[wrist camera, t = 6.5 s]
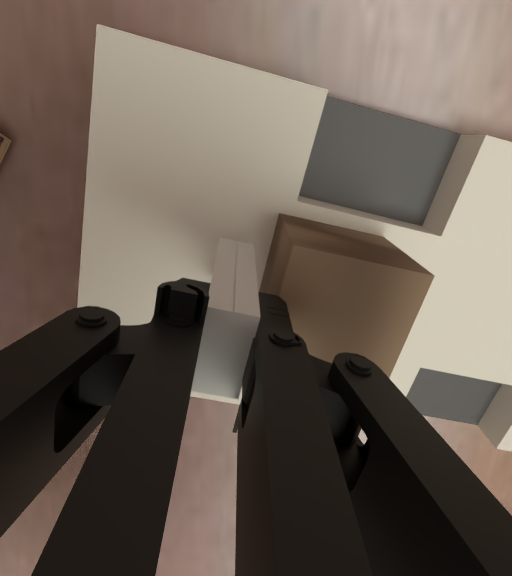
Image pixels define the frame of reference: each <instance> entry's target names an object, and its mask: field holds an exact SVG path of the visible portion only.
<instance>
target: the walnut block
mask: <svg viewBox="0 0 512 576" xmlns="http://www.w3.org/2000/svg"><path fill="white" fill-rule="evenodd" d="M433 279H434V275H433V274H432V273H430V272H429V271H428V270H427V269H425V268H424V267H423V266H421V265H420V264H419V263H417V262H416V261H415V260H413V259H412V258H411V257H410V256H408V255H407V254H406V253H404V252H403V251H402V250H400V249H399V248H398V247H396V246H395V245H394V244H393V243H391V242H390V241H389V240H387V239H386V238H385V237H383V236H379V235H374V234H370V233H365V232H361V231H357V230H352V229H348V228H343V227H339V226H334V225H330V224H326V223H321V222H317V221H312V220H308V219H304V218H299V217H295V216H290V215H286V214H281V213H279V215H278V219H277V223H276V227H275V231H274V235H273V239H272V242H271V246H270V250H269V254H268V258H267V262H266V266H265V270H264V274H263V278H262V282H261V285H260V289H259V292H262V293H267V294H272V295H277V296H279V297H281V298H282V299H283V300H284V301H285V302H286V304H287V308H288V312H289V316H290V317H289V318H290V320H291V324H292V328H293V332H294V333H296V334H298V335H299V336H300V337H301V338H303V340H304V341H305V343H306V346H307V349H308V353H309V354H310V355H312V356H314V357H316V358H319V359H321V360H324V361H327V362H329V363H332V362H333V360H334V357H335V355H337V354H339V353H344V352H348V353H356V354H359V355H362V356H365V357H366V358H367V359H369V360H371V361H372V362H374V363H375V364H376V365H377V366H378V367H379V368H380V369H381V370H382V371H383V372H384V373H385V374H386V375H387V376H388V378H390V376H391V373H392V371H393V369H394V367H395V364H396V362H397V360H398V358H399V355H400V353H401V351H402V349H403V346H404V344H405V342H406V340H407V337H408V335H409V333H410V330H411V328H412V326H413V324H414V321H415V319H416V317H417V315H418V312H419V310H420V308H421V306H422V303H423V301H424V299H425V297H426V294H427V292H428V290H429V288H430V285H431V283H432V281H433Z"/></svg>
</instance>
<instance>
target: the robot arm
mask: <svg viewBox="0 0 512 576" xmlns="http://www.w3.org/2000/svg"><path fill="white" fill-rule="evenodd" d="M289 317H290V316H289V312H288V308H287V304H286V302H285V301H284V300H283V299H282V298H281V297H279V296H277V295H272V294H267V293H262V292H258V285H257V275H256V264H255V253H254V245H253V244H249V243H244V242H239V241H235V240H230V239H226V238H221V237H220V240H219V245H218V250H217V255H216V259H215V264H214V269H213V274H212V279H211V283H207V282H202V281H197V280H192V279H187V278H181V279H179V280H177V281H168V282H165V283H162V284H160V285H159V286H158V288H157V295H156V302H155V309H154V316H153V318H152V320H151V322H149V323H147V324H142V325H121V321H120V317H119V316H118V315H117V314H116V313H115V312H113V311H111V310H109V309H106V308H101V307H98V306H93V307H92V306H85V307H78V308H74V309H71V310H69V311H66V312H65V313H63V314H61V315H60V316H58V317H56V318H55V319H53V320H51V321H50V322H48V323H46V324H45V325H43V326H41V327H40V328H38V329H36V330H35V331H33V332H31V333H29V334H28V335H26V336H24V337H23V338H21V339H19V340H18V341H16V342H14V343H13V344H11V345H9V346H8V347H6V348H4V349H3V350H1V351H0V537H1V536H2V535H3V534H4V533H5V532H6V531H7V529H8V528H9V527H10V526H11V525H12V524H13V522H14V521H15V520H16V519H17V518H18V517H19V516H20V514H21V513H22V512H23V511H24V510H25V509H26V508H27V506H28V505H29V504H30V503H31V502H32V501H33V500H34V498H35V497H36V496H37V495H38V494H39V493H40V491H41V490H42V489H43V488H44V487H45V486H46V485H47V483H48V482H49V481H50V480H51V479H52V478H53V477H54V475H55V474H56V473H57V472H58V471H59V470H60V469H61V467H62V466H63V465H64V464H65V463H66V462H67V460H68V459H69V458H70V457H71V456H72V455H73V454H74V452H75V451H76V450H77V449H78V448H79V447H80V446H81V444H82V443H83V442H84V441H85V440H86V439H87V438H88V436H89V435H90V434H91V433H92V432H93V431H94V429H95V428H96V427H97V426H98V425H99V424H100V423H101V421H102V420H103V419H104V418H105V417H106V418H105V420H104V422H103V424H102V426H101V428H100V430H99V432H98V435H97V437H96V439H95V441H94V443H93V445H92V447H91V449H90V452H89V454H88V456H87V458H86V460H85V462H84V464H83V466H82V469H81V471H80V473H79V475H78V477H77V479H76V481H75V483H74V486H73V488H72V490H71V492H70V494H69V496H68V498H67V500H66V503H65V505H64V507H63V509H62V511H61V513H60V515H59V517H58V520H57V522H56V524H55V526H54V528H53V530H52V532H51V534H50V537H49V539H48V541H47V543H46V545H45V547H44V549H43V551H42V554H41V556H40V558H39V560H38V562H37V564H36V566H35V568H34V571H33V573H32V575H31V576H155V574H156V568H157V563H158V558H159V553H160V548H161V543H162V538H163V532H164V527H165V522H166V517H167V512H168V507H169V502H170V497H171V491H172V486H173V481H174V476H175V471H176V466H177V461H178V455H179V450H180V445H181V440H182V435H183V430H184V425H185V420H186V414H187V409H188V404H189V399H190V394H191V391H193V392H199V393H205V394H211V395H217V396H223V397H229V398H235V399H239V395H240V392H241V388H242V399H241V402H240V406H239V410H238V413H237V417H236V421H235V424H234V428H233V432H235V433H236V432H237V429H238V444H237V501H236V558H235V576H512V516H511V515H510V513H509V512H508V511H507V510H506V509H505V508H504V507H503V506H502V504H501V503H500V502H499V501H498V500H497V499H496V498H495V497H494V495H493V494H492V493H491V492H490V491H489V490H488V489H487V488H486V487H485V485H484V484H483V483H482V482H481V481H480V480H479V479H478V478H477V476H476V475H475V474H474V473H473V472H472V471H471V470H470V469H469V467H468V466H467V465H466V464H465V463H464V462H463V461H462V460H461V458H460V457H459V456H458V455H457V454H456V453H455V452H454V451H453V449H452V448H451V447H450V446H449V445H448V444H447V443H446V442H445V440H444V439H443V438H442V437H441V436H440V435H439V434H438V433H437V431H436V430H435V429H434V428H433V427H432V426H431V425H430V424H429V423H428V421H427V420H426V419H425V418H424V417H423V416H422V415H421V414H420V412H419V411H418V410H417V409H416V408H415V407H414V406H413V405H412V403H411V402H410V401H409V400H408V399H407V398H406V397H405V396H404V394H403V393H402V392H401V391H400V390H399V389H398V388H397V387H396V385H395V384H394V383H393V382H392V381H391V380H390V379H389V378H388V376H387V375H386V374H385V373H384V372H383V371H382V370H381V369H380V368H379V367H378V366H377V365H376V364H375V363H374V362H372V361H371V360H369V359H367V358H366V357H365V356H362V355H359V354H356V353H348V352H344V353H339V354H337V355H335V357H334V360H333V362H332V363H329V362H327V361H324V360H321V359H319V358H316V357H314V356H312V355H310V354H309V353H308V349H307V346H306V343H305V341H304V340H303V338H301V337H300V336H299V335H298V334H296V333H294V332H293V328H292V324H291V320H290V318H289ZM361 428H362V430H363V431H364V433H365V434H366V436H367V438H368V439H367V441H366V443H365V445H364V444H363V443H362V442H361V440H360V439H359V437H358V435H359V433H360V431H361Z"/></svg>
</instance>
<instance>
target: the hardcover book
mask: <svg viewBox="0 0 512 576" xmlns="http://www.w3.org/2000/svg"><path fill="white" fill-rule="evenodd" d="M11 142H12V141H11V140H10V139H8V138H7V137H5V136H4V135H2V134H1V133H0V164H1V162H2V160H3V158H4V156H5V154H6V152H7V150H8V148H9V146H10V144H11Z"/></svg>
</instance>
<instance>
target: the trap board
mask: <svg viewBox="0 0 512 576" xmlns="http://www.w3.org/2000/svg"><path fill="white" fill-rule="evenodd" d="M327 93H328V90H327V89H324V88H320V87H317V86H313V85H310V84H306V83H303V82H299V81H296V80H292V79H289V78H285V77H282V76H278V75H275V74H271V73H268V72H264V71H261V70H257V69H254V68H250V67H247V66H243V65H240V64H236V63H233V62H229V61H226V60H222V59H219V58H215V57H212V56H208V55H205V54H201V53H198V52H194V51H191V50H187V49H184V48H180V47H177V46H173V45H170V44H166V43H163V42H159V41H156V40H152V39H149V38H145V37H142V36H138V35H135V34H131V33H128V32H124V31H121V30H117V29H114V28H110V27H107V26H103V25H100V24H97V28H96V43H95V57H94V72H93V86H92V101H91V115H90V130H89V144H88V159H87V173H86V188H85V202H84V217H83V231H82V246H81V260H80V275H79V289H78V304H77V308H78V307H85V306H92V307H93V306H98V307H101V308H106V309H109V310H111V311H113V312H115V313H116V314H117V315H118V316H119V317H120V321H121V325H142V324H147V323H149V322H151V320H152V318H153V316H154V309H155V302H156V295H157V288H158V286H159V285H160V284H162V283H165V282H168V281H177V280H179V279H181V278H187V279H192V280H197V281H202V282H207V283H211V279H212V274H213V269H214V264H215V259H216V255H217V250H218V245H219V240H220V237H221V238H226V239H230V240H235V241H239V242H244V243H249V244H253V245H254V253H255V264H256V275H257V285H258V292H259V289H260V285H261V282H262V278H263V274H264V270H265V266H266V262H267V258H268V254H269V250H270V246H271V242H272V239H273V235H274V231H275V227H276V223H277V219H278V215H279V213H281V214H286V215H290V216H295V217H299V218H304V219H308V220H312V221H317V222H321V223H326V224H330V225H334V226H339V227H343V228H348V229H352V230H357V231H361V232H365V233H370V234H374V235H379V236H383V237H385V238H386V239H387V240H389V241H390V242H391V243H393V244H394V245H395V246H396V247H398V248H399V249H400V250H402V251H403V252H404V253H406V254H407V255H408V256H410V257H411V258H412V259H413V260H415V261H416V262H417V263H419V264H420V265H421V266H423V267H424V268H425V269H427V270H428V271H429V272H430V273H432V274H433V275H434V279H433V281H432V283H431V285H430V288H429V290H428V292H427V294H426V297H425V299H424V301H423V303H422V306H421V308H420V310H419V312H418V315H417V317H416V319H415V321H414V324H413V326H412V328H411V330H410V333H409V335H408V337H407V340H406V342H405V344H404V346H403V349H402V351H401V353H400V355H399V358H398V360H397V362H396V364H395V367H394V369H393V371H392V373H391V376H390V378H389V379H390V380H391V381H392V382H393V383H394V384H395V385H396V387H397V388H398V389H399V390H400V391H401V392H402V393H403V394H404V396H405V397H406V398H407V399H408V400H409V401H410V402H411V403H412V405H413V406H414V407H415V408H416V409H417V410H418V411H419V412H420V414H421V415H425V416H430V417H436V418H442V419H447V420H453V421H458V422H464V423H469V424H475V425H478V426H479V428H480V429H481V430H482V431H483V433H484V434H485V435H486V436H487V438H488V439H489V440H490V441H491V443H492V444H493V445H494V446H495V448H496V449H501V450H506V451H512V142H509V141H506V140H502V139H499V138H495V137H492V136H488V135H469V134H458V133H455V132H451V131H448V130H444V129H440V128H437V127H433V126H430V125H426V124H423V123H419V122H416V121H412V120H409V119H405V118H402V117H398V116H395V115H391V114H388V113H384V112H380V111H377V110H373V109H370V108H366V107H363V106H359V105H356V104H352V103H349V102H345V101H342V100H338V99H335V98H331V97H328V96H327ZM190 396H192V397H198V398H204V399H209V400H215V401H221V402H227V403H233V404H238V405H240V402H241V399H242V388H241V392H240V395H239V399H235V398H229V397H223V396H217V395H211V394H205V393H199V392H193V391H191V394H190Z"/></svg>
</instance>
